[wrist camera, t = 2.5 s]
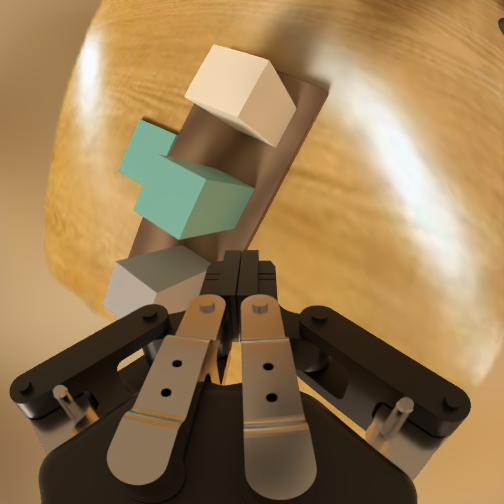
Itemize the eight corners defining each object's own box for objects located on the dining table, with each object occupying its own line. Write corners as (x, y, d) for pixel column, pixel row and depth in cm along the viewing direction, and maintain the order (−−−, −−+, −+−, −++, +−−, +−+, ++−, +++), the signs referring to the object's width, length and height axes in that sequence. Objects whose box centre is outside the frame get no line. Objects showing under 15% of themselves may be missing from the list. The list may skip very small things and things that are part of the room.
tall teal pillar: (254, 188, 32) (206, 179, 21) (234, 228, 34) (178, 239, 22) (217, 168, 33) (156, 153, 22) (199, 207, 35) (133, 210, 23)
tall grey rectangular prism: (215, 266, 35) (156, 293, 24) (199, 300, 36) (140, 336, 25) (182, 244, 36) (115, 261, 25) (168, 278, 37) (103, 305, 26)
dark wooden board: (328, 95, 30) (327, 90, 29) (207, 325, 39) (202, 330, 37) (226, 58, 33) (222, 53, 31) (130, 270, 41) (123, 271, 40)
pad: (178, 135, 36) (176, 134, 36) (153, 190, 38) (151, 190, 38) (142, 119, 37) (140, 119, 37) (120, 171, 40) (118, 170, 39)
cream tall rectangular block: (296, 108, 30) (269, 60, 18) (275, 147, 31) (237, 117, 20) (257, 92, 31) (213, 44, 19) (237, 130, 32) (184, 96, 21)
